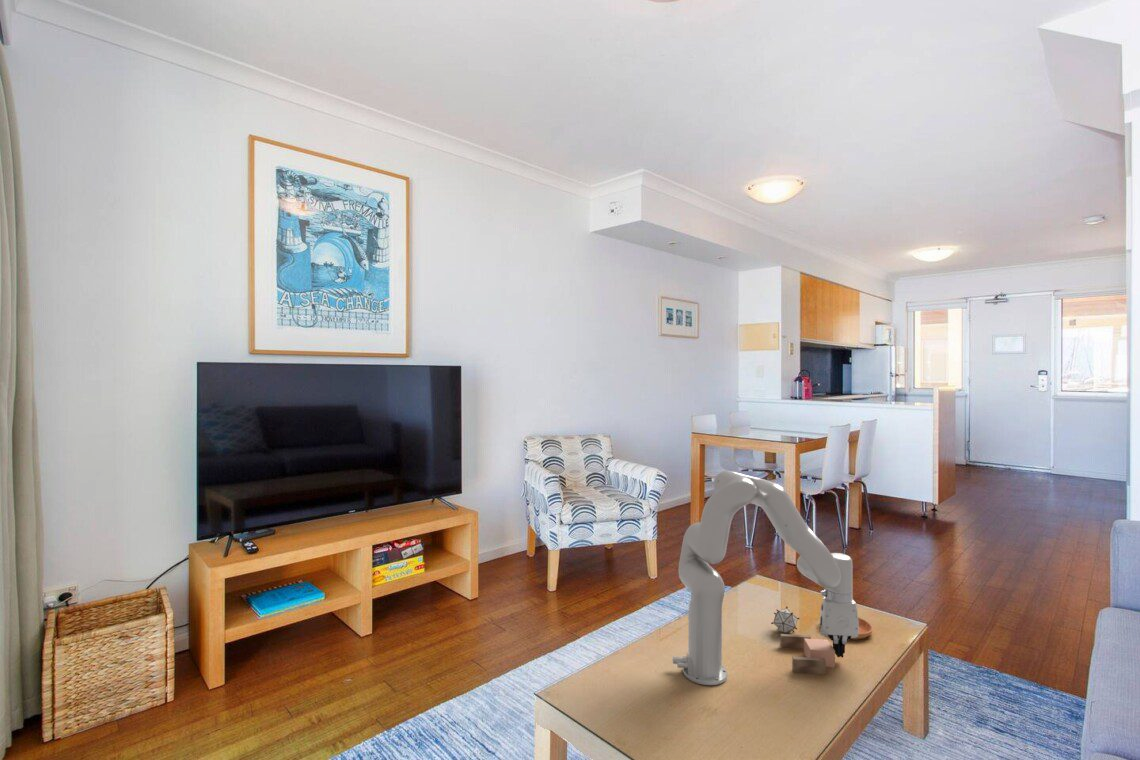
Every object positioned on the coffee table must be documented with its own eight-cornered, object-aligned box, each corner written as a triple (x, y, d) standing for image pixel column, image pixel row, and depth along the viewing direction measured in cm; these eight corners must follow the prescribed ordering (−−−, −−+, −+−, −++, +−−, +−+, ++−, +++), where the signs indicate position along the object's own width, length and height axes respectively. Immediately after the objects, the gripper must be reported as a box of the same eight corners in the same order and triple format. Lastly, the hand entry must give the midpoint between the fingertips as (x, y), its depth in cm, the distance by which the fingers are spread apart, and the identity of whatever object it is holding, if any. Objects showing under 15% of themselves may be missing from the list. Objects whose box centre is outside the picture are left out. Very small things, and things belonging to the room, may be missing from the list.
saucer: (860, 621, 198) (861, 613, 198) (881, 643, 182) (881, 634, 182) (814, 619, 200) (814, 611, 200) (830, 641, 184) (830, 632, 184)
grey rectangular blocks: (793, 672, 165) (793, 659, 165) (780, 646, 180) (780, 633, 180) (825, 674, 163) (825, 661, 163) (809, 647, 179) (809, 635, 179)
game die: (791, 645, 189) (806, 628, 183) (767, 635, 189) (782, 619, 183) (788, 622, 196) (802, 605, 191) (765, 613, 196) (779, 596, 191)
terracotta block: (810, 665, 168) (810, 649, 168) (804, 654, 175) (804, 638, 175) (834, 667, 168) (835, 651, 167) (827, 655, 174) (827, 639, 174)
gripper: (816, 599, 168) (816, 659, 168) (869, 601, 166) (869, 662, 166) (809, 589, 175) (809, 647, 175) (860, 591, 173) (859, 650, 173)
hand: (838, 654), depth 171 cm, fingers closed
